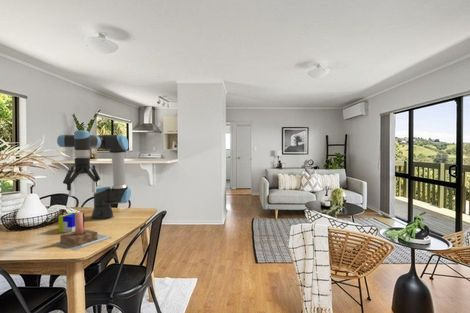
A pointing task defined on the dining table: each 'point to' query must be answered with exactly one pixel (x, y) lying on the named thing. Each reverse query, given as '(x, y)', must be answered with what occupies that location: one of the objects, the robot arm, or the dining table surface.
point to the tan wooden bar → (78, 223)
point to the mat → (83, 244)
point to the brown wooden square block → (78, 238)
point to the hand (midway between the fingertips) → (82, 194)
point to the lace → (94, 241)
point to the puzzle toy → (68, 222)
